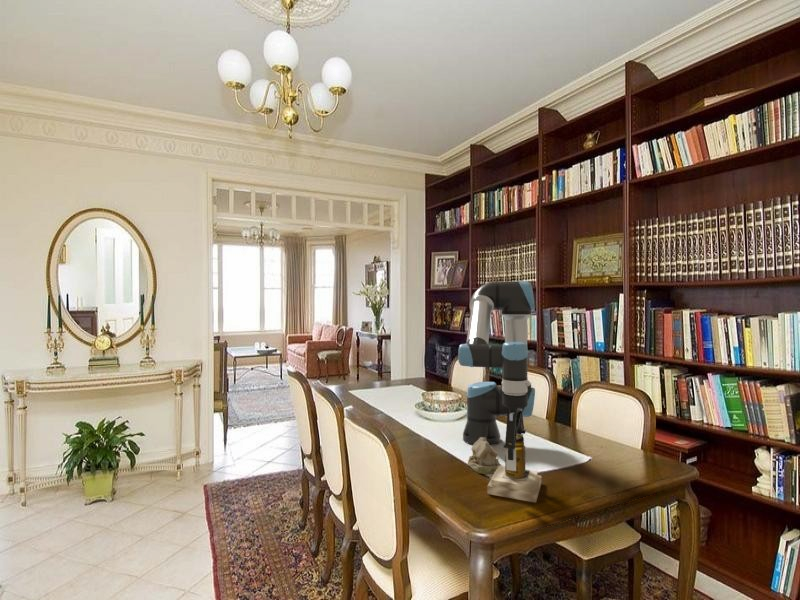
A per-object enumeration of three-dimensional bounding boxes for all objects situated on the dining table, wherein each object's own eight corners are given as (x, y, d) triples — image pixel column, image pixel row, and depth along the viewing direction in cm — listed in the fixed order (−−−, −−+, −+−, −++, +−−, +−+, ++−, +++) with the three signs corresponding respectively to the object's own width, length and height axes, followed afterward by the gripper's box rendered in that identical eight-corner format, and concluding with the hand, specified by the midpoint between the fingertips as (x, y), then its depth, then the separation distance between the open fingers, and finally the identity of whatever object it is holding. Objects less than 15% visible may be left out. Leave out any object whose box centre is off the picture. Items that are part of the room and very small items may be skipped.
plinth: (487, 493, 131) (487, 480, 131) (496, 475, 143) (496, 463, 143) (536, 502, 125) (536, 488, 125) (541, 483, 138) (541, 470, 138)
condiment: (501, 477, 133) (501, 438, 132) (506, 467, 140) (506, 430, 140) (526, 481, 130) (526, 441, 130) (529, 471, 138) (529, 433, 137)
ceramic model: (464, 459, 159) (464, 431, 158) (494, 458, 160) (494, 430, 159) (474, 475, 145) (474, 445, 144) (507, 473, 146) (507, 443, 145)
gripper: (521, 403, 121) (521, 479, 121) (532, 385, 144) (533, 450, 144) (494, 400, 124) (494, 475, 124) (509, 384, 147) (509, 446, 147)
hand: (515, 461), depth 134 cm, fingers open, 13 cm apart
